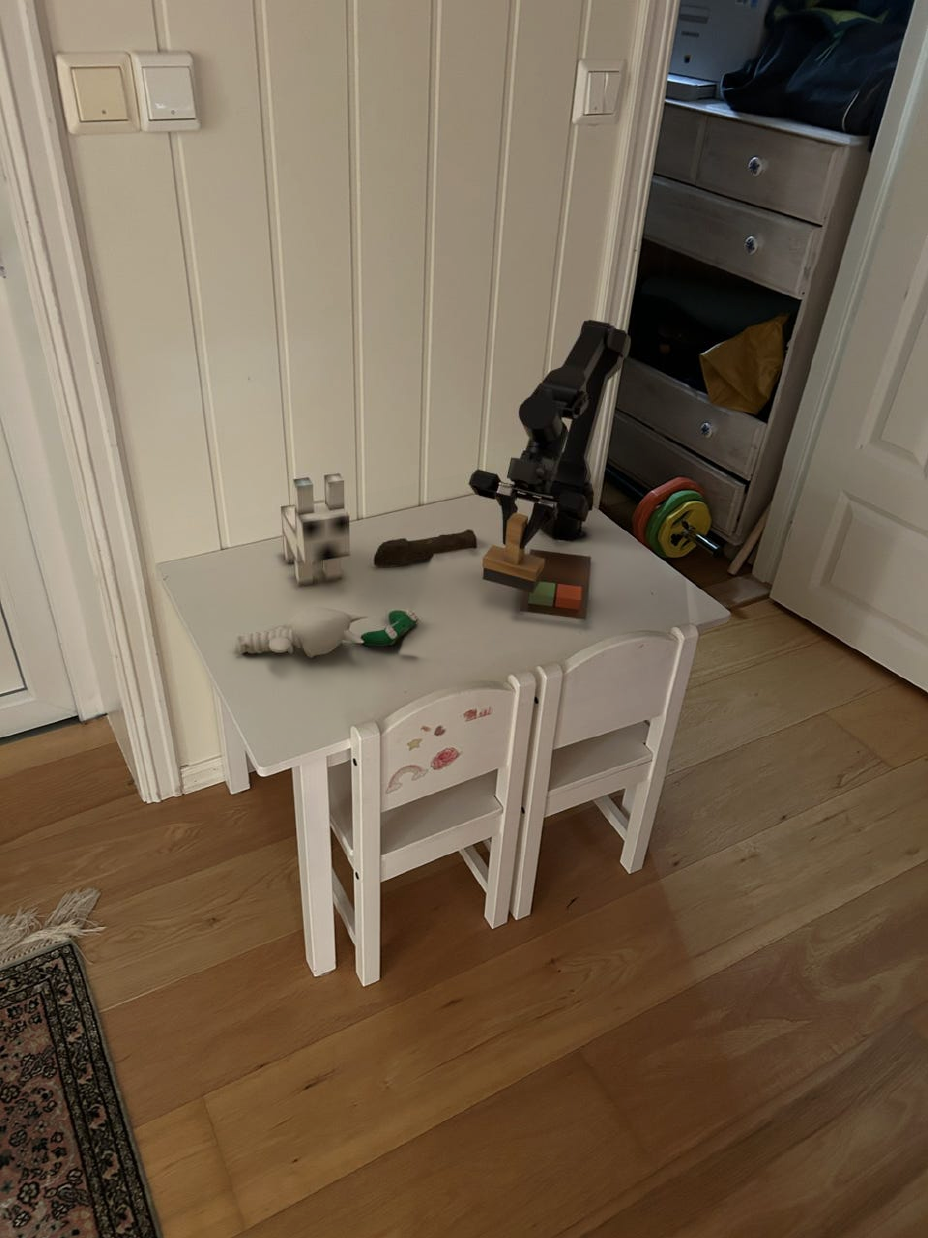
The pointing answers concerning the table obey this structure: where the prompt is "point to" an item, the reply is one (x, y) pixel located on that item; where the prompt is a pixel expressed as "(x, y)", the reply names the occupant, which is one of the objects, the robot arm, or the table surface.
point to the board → (561, 582)
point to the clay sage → (543, 594)
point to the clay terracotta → (568, 596)
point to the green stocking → (391, 629)
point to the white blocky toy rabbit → (316, 529)
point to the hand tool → (422, 548)
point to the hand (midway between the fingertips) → (512, 546)
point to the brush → (513, 560)
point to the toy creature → (304, 633)
